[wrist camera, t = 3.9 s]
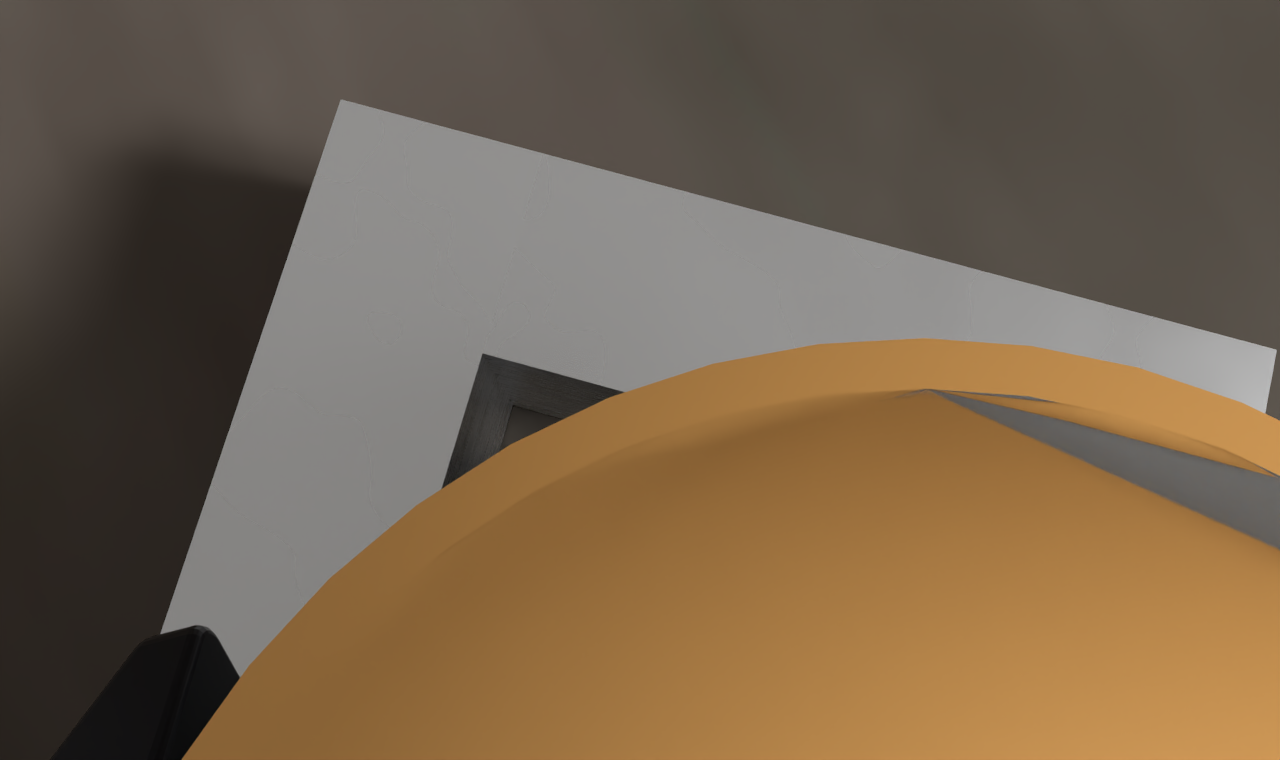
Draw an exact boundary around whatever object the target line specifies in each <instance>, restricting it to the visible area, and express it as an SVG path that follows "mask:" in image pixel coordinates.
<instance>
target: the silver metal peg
mask: <svg viewBox="0 0 1280 760" xmlns="http://www.w3.org/2000/svg"><path fill="white" fill-rule="evenodd" d="M182 760H1280V421H1279V420H1277V419H1275V418H1273V417H1271V416H1269V415H1267V414H1265V413H1263V412H1261V411H1258V410H1256V409H1254V408H1252V407H1250V406H1248V405H1246V404H1244V403H1242V402H1239V401H1236V400H1233V399H1230V398H1227V397H1224V396H1221V395H1218V394H1215V393H1212V392H1209V391H1206V390H1203V389H1200V388H1197V387H1194V386H1191V385H1188V384H1185V383H1182V382H1180V381H1177V380H1174V379H1171V378H1168V377H1165V376H1162V375H1159V374H1156V373H1153V372H1150V371H1147V370H1144V369H1141V368H1138V367H1133V366H1128V365H1123V364H1118V363H1113V362H1108V361H1104V360H1099V359H1094V358H1089V357H1084V356H1079V355H1074V354H1069V353H1064V352H1059V351H1054V350H1049V349H1044V348H1039V347H1035V346H1026V345H1012V344H998V343H985V342H971V341H957V340H944V339H930V338H918V339H900V340H882V341H864V342H846V343H828V344H816V345H810V346H805V347H800V348H794V349H789V350H784V351H778V352H773V353H767V354H762V355H757V356H751V357H746V358H741V359H735V360H730V361H725V362H719V363H714V364H710V365H707V366H704V367H701V368H698V369H695V370H692V371H689V372H686V373H683V374H680V375H677V376H674V377H670V378H667V379H664V380H661V381H658V382H655V383H652V384H649V385H646V386H643V387H640V388H637V389H634V390H631V391H628V392H624V393H621V394H618V395H615V396H612V397H609V398H607V399H605V400H603V401H601V402H599V403H597V404H595V405H592V406H590V407H588V408H586V409H584V410H582V411H580V412H578V413H576V414H574V415H571V416H569V417H567V418H565V419H563V420H561V421H559V422H557V423H555V424H553V425H550V426H548V427H546V428H544V429H542V430H540V431H538V432H536V433H534V434H532V435H529V436H527V437H525V438H523V439H521V440H519V441H517V442H515V443H513V444H511V445H509V446H507V447H506V448H504V449H503V450H501V451H500V452H498V453H497V454H495V455H493V456H492V457H490V458H489V459H487V460H486V461H484V462H483V463H481V464H480V465H478V466H476V467H475V468H473V469H472V470H470V471H469V472H467V473H466V474H464V475H462V476H461V477H459V478H458V479H456V480H455V481H453V482H452V483H450V484H449V485H447V486H445V487H444V488H442V489H441V490H439V491H438V492H436V493H435V494H433V495H432V496H430V497H428V498H427V499H425V500H424V501H422V502H421V503H419V504H418V505H416V506H415V507H414V508H413V509H411V510H410V511H409V512H408V513H407V514H405V515H404V516H403V517H402V518H401V519H399V520H398V521H397V522H396V523H395V524H394V525H392V526H391V527H390V528H389V529H388V530H386V531H385V532H384V533H383V534H382V535H381V536H379V537H378V538H377V539H376V540H375V541H373V542H372V543H371V544H370V545H369V546H367V547H366V548H365V549H364V550H363V551H362V552H360V553H359V554H358V555H357V556H356V557H354V558H353V559H352V560H351V561H350V562H348V563H347V564H346V565H345V566H344V567H343V568H341V569H340V570H339V571H338V572H337V573H335V574H334V575H333V576H332V577H331V578H329V579H328V580H327V582H326V583H325V584H324V585H323V586H322V587H321V588H320V589H319V590H318V591H317V592H316V593H315V595H314V596H313V597H312V598H311V599H310V600H309V601H308V602H307V603H306V604H305V605H304V606H303V608H302V609H301V610H300V611H299V612H298V613H297V614H296V615H295V616H294V617H293V618H292V619H291V621H290V622H289V623H288V624H287V625H286V626H285V627H284V628H283V629H282V630H281V631H280V632H279V634H278V635H277V636H276V637H275V638H274V639H273V640H272V641H271V642H270V643H269V644H268V645H267V647H266V648H265V649H264V650H263V651H262V652H261V653H260V654H259V655H258V656H257V657H256V658H255V660H254V661H253V662H252V663H251V664H250V665H249V666H248V668H247V669H246V670H245V672H244V673H243V675H242V676H241V677H240V679H239V680H238V682H237V683H236V684H235V686H234V687H233V689H232V690H231V691H230V693H229V694H228V696H227V697H226V698H225V700H224V701H223V702H222V704H221V705H220V707H219V708H218V709H217V711H216V712H215V714H214V715H213V716H212V718H211V719H210V721H209V722H208V723H207V725H206V726H205V728H204V729H203V730H202V732H201V733H200V735H199V736H198V737H197V739H196V740H195V742H194V743H193V744H192V746H191V747H190V749H189V750H188V751H187V753H186V754H185V755H184V757H183V758H182Z"/></svg>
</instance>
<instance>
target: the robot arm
mask: <svg viewBox="0 0 1280 760" xmlns="http://www.w3.org/2000/svg"><path fill="white" fill-rule="evenodd" d="M239 679H240V676H239V675H238V673H237V671H236V669H235V667H234V666H233V664H232V662H231V660H230V658H229V657H228V655H227V653H226V651H225V650H224V648H223V646H222V644H221V642H220V641H219V639H218V637H217V636H216V635H215V633H214V632H213V631H212V630H210V629H209V628H208V627H206V626H202V625H194V626H190V627H186V628H182V629H178V630H175V631H171V632H167V633H163V634H159V635H155V636H152V637H150V638H148V639H145V640H144V641H142V642H141V643H140V644H139V645H138V646H137V647H136V648H135V649H134V650H133V652H132V653H131V654H130V656H129V657H128V658H127V660H126V661H125V662H124V663H123V665H122V666H121V667H120V669H119V670H118V671H117V673H116V674H115V675H114V677H113V678H112V679H111V680H110V682H109V683H108V684H107V686H106V687H105V688H104V690H103V691H102V692H101V694H100V695H99V696H98V698H97V699H96V700H95V701H94V703H93V704H92V705H91V707H90V708H89V709H88V711H87V712H86V713H85V715H84V716H83V717H82V718H81V720H80V721H79V722H78V724H77V725H76V726H75V728H74V729H73V730H72V732H71V733H70V734H69V735H68V737H67V738H66V739H65V741H64V742H63V743H62V745H61V746H60V747H59V749H58V750H57V751H56V753H55V754H54V755H53V756H52V758H51V759H50V760H182V758H183V757H184V755H185V754H186V753H187V751H188V750H189V749H190V747H191V746H192V744H193V743H194V742H195V740H196V739H197V737H198V736H199V735H200V733H201V732H202V730H203V729H204V728H205V726H206V725H207V723H208V722H209V721H210V719H211V718H212V716H213V715H214V714H215V712H216V711H217V709H218V708H219V707H220V705H221V704H222V702H223V701H224V700H225V698H226V697H227V696H228V694H229V693H230V691H231V690H232V689H233V687H234V686H235V684H236V683H237V682H238V680H239Z"/></svg>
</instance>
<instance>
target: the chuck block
mask: <svg viewBox="0 0 1280 760" xmlns="http://www.w3.org/2000/svg"><path fill="white" fill-rule="evenodd" d="M918 338H930V339H944V340H957V341H971V342H985V343H998V344H1012V345H1026V346H1035V347H1039V348H1044V349H1049V350H1054V351H1059V352H1064V353H1069V354H1074V355H1079V356H1084V357H1089V358H1094V359H1099V360H1104V361H1108V362H1113V363H1118V364H1123V365H1128V366H1133V367H1138V368H1141V369H1144V370H1147V371H1150V372H1153V373H1156V374H1159V375H1162V376H1165V377H1168V378H1171V379H1174V380H1177V381H1180V382H1182V383H1185V384H1188V385H1191V386H1194V387H1197V388H1200V389H1203V390H1206V391H1209V392H1212V393H1215V394H1218V395H1221V396H1224V397H1227V398H1230V399H1233V400H1236V401H1239V402H1242V403H1244V404H1246V405H1248V406H1250V407H1252V408H1254V409H1256V410H1258V411H1261V412H1263V413H1265V411H1266V406H1267V400H1268V395H1269V389H1270V384H1271V378H1272V373H1273V367H1274V362H1275V356H1276V351H1277V350H1275V349H1271V348H1268V347H1264V346H1260V345H1256V344H1253V343H1249V342H1245V341H1242V340H1238V339H1234V338H1230V337H1227V336H1223V335H1219V334H1215V333H1212V332H1208V331H1204V330H1200V329H1197V328H1193V327H1189V326H1186V325H1182V324H1178V323H1174V322H1171V321H1167V320H1163V319H1159V318H1156V317H1152V316H1148V315H1144V314H1141V313H1137V312H1133V311H1129V310H1126V309H1122V308H1118V307H1115V306H1111V305H1107V304H1103V303H1100V302H1096V301H1092V300H1088V299H1085V298H1081V297H1077V296H1073V295H1070V294H1066V293H1062V292H1058V291H1055V290H1051V289H1047V288H1044V287H1040V286H1036V285H1032V284H1029V283H1025V282H1021V281H1017V280H1014V279H1010V278H1006V277H1002V276H999V275H995V274H991V273H988V272H984V271H980V270H976V269H973V268H969V267H965V266H961V265H958V264H954V263H950V262H946V261H943V260H939V259H935V258H931V257H928V256H924V255H920V254H917V253H913V252H909V251H905V250H902V249H898V248H894V247H890V246H887V245H883V244H879V243H875V242H872V241H868V240H864V239H861V238H857V237H853V236H849V235H846V234H842V233H838V232H834V231H831V230H827V229H823V228H819V227H816V226H812V225H808V224H804V223H801V222H797V221H793V220H790V219H786V218H782V217H778V216H775V215H771V214H767V213H763V212H760V211H756V210H752V209H748V208H745V207H741V206H737V205H733V204H730V203H726V202H722V201H719V200H715V199H711V198H707V197H704V196H700V195H696V194H692V193H689V192H685V191H681V190H677V189H674V188H670V187H666V186H663V185H659V184H655V183H651V182H648V181H644V180H640V179H636V178H633V177H629V176H625V175H621V174H618V173H614V172H610V171H606V170H603V169H599V168H595V167H592V166H588V165H584V164H580V163H577V162H573V161H569V160H565V159H562V158H558V157H554V156H550V155H547V154H543V153H539V152H535V151H532V150H528V149H524V148H521V147H517V146H513V145H509V144H506V143H502V142H498V141H494V140H491V139H487V138H483V137H479V136H476V135H472V134H468V133H465V132H461V131H457V130H453V129H450V128H446V127H442V126H438V125H435V124H431V123H427V122H423V121H420V120H416V119H412V118H408V117H405V116H401V115H397V114H394V113H390V112H386V111H382V110H379V109H375V108H371V107H367V106H364V105H360V104H356V103H352V102H349V101H345V100H341V101H340V104H339V107H338V109H337V112H336V115H335V118H334V121H333V124H332V127H331V130H330V133H329V136H328V139H327V142H326V145H325V148H324V151H323V154H322V157H321V160H320V163H319V166H318V169H317V172H316V175H315V178H314V181H313V183H312V186H311V189H310V192H309V195H308V198H307V201H306V204H305V207H304V210H303V213H302V216H301V219H300V222H299V225H298V228H297V231H296V234H295V237H294V240H293V243H292V246H291V249H290V252H289V254H288V257H287V260H286V263H285V266H284V269H283V272H282V275H281V278H280V281H279V284H278V287H277V290H276V293H275V296H274V299H273V302H272V305H271V308H270V311H269V314H268V317H267V320H266V323H265V326H264V328H263V331H262V334H261V337H260V340H259V343H258V346H257V349H256V352H255V355H254V358H253V361H252V364H251V367H250V370H249V373H248V376H247V379H246V382H245V385H244V388H243V391H242V394H241V397H240V400H239V402H238V405H237V408H236V411H235V414H234V417H233V420H232V423H231V426H230V429H229V432H228V435H227V438H226V441H225V444H224V447H223V450H222V453H221V456H220V459H219V462H218V465H217V468H216V471H215V473H214V476H213V479H212V482H211V485H210V488H209V491H208V494H207V497H206V500H205V503H204V506H203V509H202V512H201V515H200V518H199V521H198V524H197V527H196V530H195V533H194V536H193V539H192V542H191V545H190V547H189V550H188V553H187V556H186V559H185V562H184V565H183V568H182V571H181V574H180V577H179V580H178V583H177V586H176V589H175V592H174V595H173V598H172V601H171V604H170V607H169V610H168V613H167V616H166V619H165V621H164V624H163V627H162V630H161V633H160V634H163V633H167V632H171V631H175V630H178V629H182V628H186V627H190V626H194V625H202V626H206V627H208V628H209V629H210V630H212V631H213V632H214V633H215V635H216V636H217V637H218V639H219V641H220V642H221V644H222V646H223V648H224V650H225V651H226V653H227V655H228V657H229V658H230V660H231V662H232V664H233V666H234V667H235V669H236V671H237V673H238V675H239V676H240V677H241V676H242V675H243V673H244V672H245V670H246V669H247V668H248V666H249V665H250V664H251V663H252V662H253V661H254V660H255V658H256V657H257V656H258V655H259V654H260V653H261V652H262V651H263V650H264V649H265V648H266V647H267V645H268V644H269V643H270V642H271V641H272V640H273V639H274V638H275V637H276V636H277V635H278V634H279V632H280V631H281V630H282V629H283V628H284V627H285V626H286V625H287V624H288V623H289V622H290V621H291V619H292V618H293V617H294V616H295V615H296V614H297V613H298V612H299V611H300V610H301V609H302V608H303V606H304V605H305V604H306V603H307V602H308V601H309V600H310V599H311V598H312V597H313V596H314V595H315V593H316V592H317V591H318V590H319V589H320V588H321V587H322V586H323V585H324V584H325V583H326V582H327V580H328V579H329V578H331V577H332V576H333V575H334V574H335V573H337V572H338V571H339V570H340V569H341V568H343V567H344V566H345V565H346V564H347V563H348V562H350V561H351V560H352V559H353V558H354V557H356V556H357V555H358V554H359V553H360V552H362V551H363V550H364V549H365V548H366V547H367V546H369V545H370V544H371V543H372V542H373V541H375V540H376V539H377V538H378V537H379V536H381V535H382V534H383V533H384V532H385V531H386V530H388V529H389V528H390V527H391V526H392V525H394V524H395V523H396V522H397V521H398V520H399V519H401V518H402V517H403V516H404V515H405V514H407V513H408V512H409V511H410V510H411V509H413V508H414V507H415V506H416V505H418V504H419V503H421V502H422V501H424V500H425V499H427V498H428V497H430V496H432V495H433V494H435V493H436V492H438V491H439V490H441V489H442V488H444V487H445V486H447V485H449V484H450V483H452V482H453V481H455V480H456V479H458V478H459V477H461V476H462V475H464V474H466V473H467V472H469V471H470V470H472V469H473V468H475V467H476V466H478V465H480V464H481V463H483V462H484V461H486V460H487V459H489V458H490V457H492V456H493V455H495V454H497V453H498V452H499V451H500V448H501V444H502V441H503V438H504V434H505V431H506V428H507V424H508V421H509V417H510V414H511V411H512V407H513V406H517V407H520V408H524V409H528V410H531V411H535V412H539V413H542V414H546V415H550V416H553V417H557V418H561V419H565V418H567V417H569V416H571V415H574V414H576V413H578V412H580V411H582V410H584V409H586V408H588V407H590V406H592V405H595V404H597V403H599V402H601V401H603V400H605V399H607V398H609V397H612V396H615V395H618V394H621V393H624V392H628V391H631V390H634V389H637V388H640V387H643V386H646V385H649V384H652V383H655V382H658V381H661V380H664V379H667V378H670V377H674V376H677V375H680V374H683V373H686V372H689V371H692V370H695V369H698V368H701V367H704V366H707V365H710V364H714V363H719V362H725V361H730V360H735V359H741V358H746V357H751V356H757V355H762V354H767V353H773V352H778V351H784V350H789V349H794V348H800V347H805V346H810V345H816V344H828V343H846V342H864V341H882V340H900V339H918Z"/></svg>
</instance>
